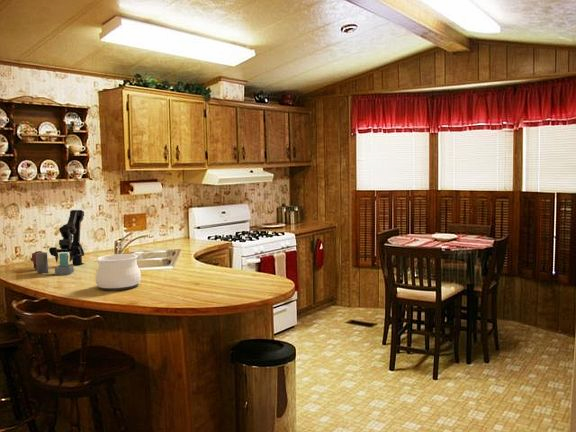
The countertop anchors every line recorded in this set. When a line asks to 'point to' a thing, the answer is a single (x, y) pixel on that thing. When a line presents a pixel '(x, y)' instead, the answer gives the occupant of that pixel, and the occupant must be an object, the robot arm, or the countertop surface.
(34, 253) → the mechanical component
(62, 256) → the square bit
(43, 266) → the round bit
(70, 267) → the block
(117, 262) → the pot
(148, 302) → the countertop surface
